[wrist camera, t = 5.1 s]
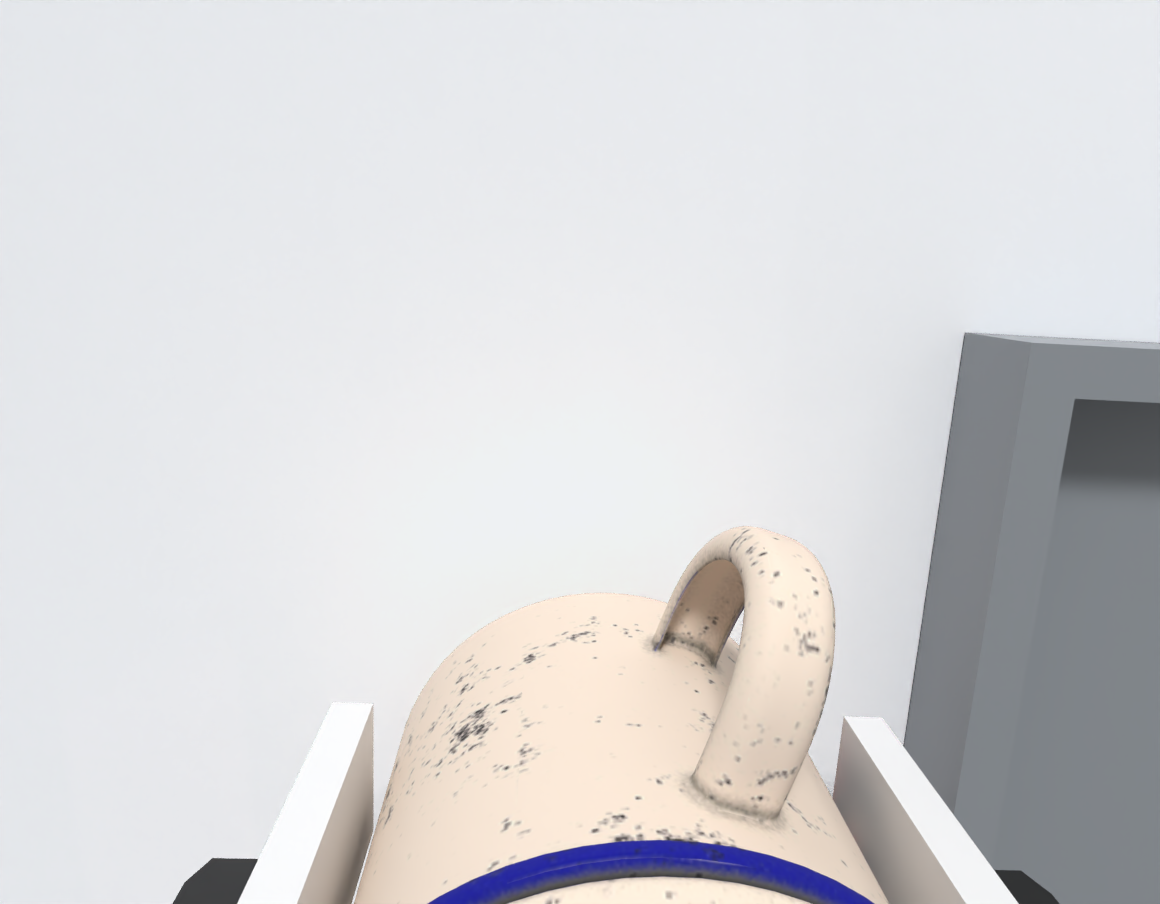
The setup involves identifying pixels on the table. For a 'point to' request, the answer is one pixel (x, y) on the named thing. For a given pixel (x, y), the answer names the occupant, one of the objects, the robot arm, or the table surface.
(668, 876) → the teacup with lid
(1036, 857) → the tray
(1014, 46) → the table surface
